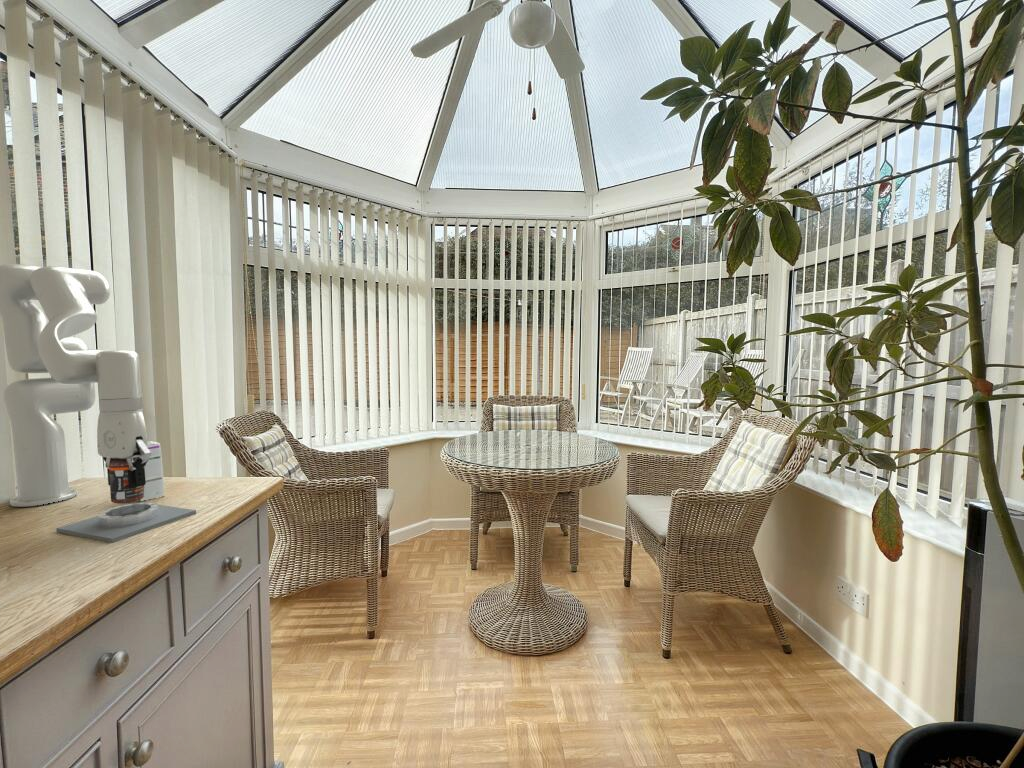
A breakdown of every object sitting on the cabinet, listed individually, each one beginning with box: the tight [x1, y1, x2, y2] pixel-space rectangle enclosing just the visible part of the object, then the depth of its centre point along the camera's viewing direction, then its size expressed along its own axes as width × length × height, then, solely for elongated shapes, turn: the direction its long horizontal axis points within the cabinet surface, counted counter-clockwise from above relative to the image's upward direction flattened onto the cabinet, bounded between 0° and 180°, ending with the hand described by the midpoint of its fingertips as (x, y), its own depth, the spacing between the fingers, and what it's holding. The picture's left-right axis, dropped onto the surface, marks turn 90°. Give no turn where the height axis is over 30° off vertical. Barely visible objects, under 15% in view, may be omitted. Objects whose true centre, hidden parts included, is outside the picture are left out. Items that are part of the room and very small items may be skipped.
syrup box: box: [138, 440, 165, 502], centre depth 128 cm, size 6×6×14 cm
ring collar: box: [98, 501, 158, 528], centre depth 110 cm, size 10×10×2 cm
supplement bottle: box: [109, 453, 144, 505], centre depth 109 cm, size 6×6×11 cm
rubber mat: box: [55, 504, 197, 543], centre depth 110 cm, size 18×18×1 cm
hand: (127, 484), depth 109 cm, fingers closed on supplement bottle, 6 cm apart
